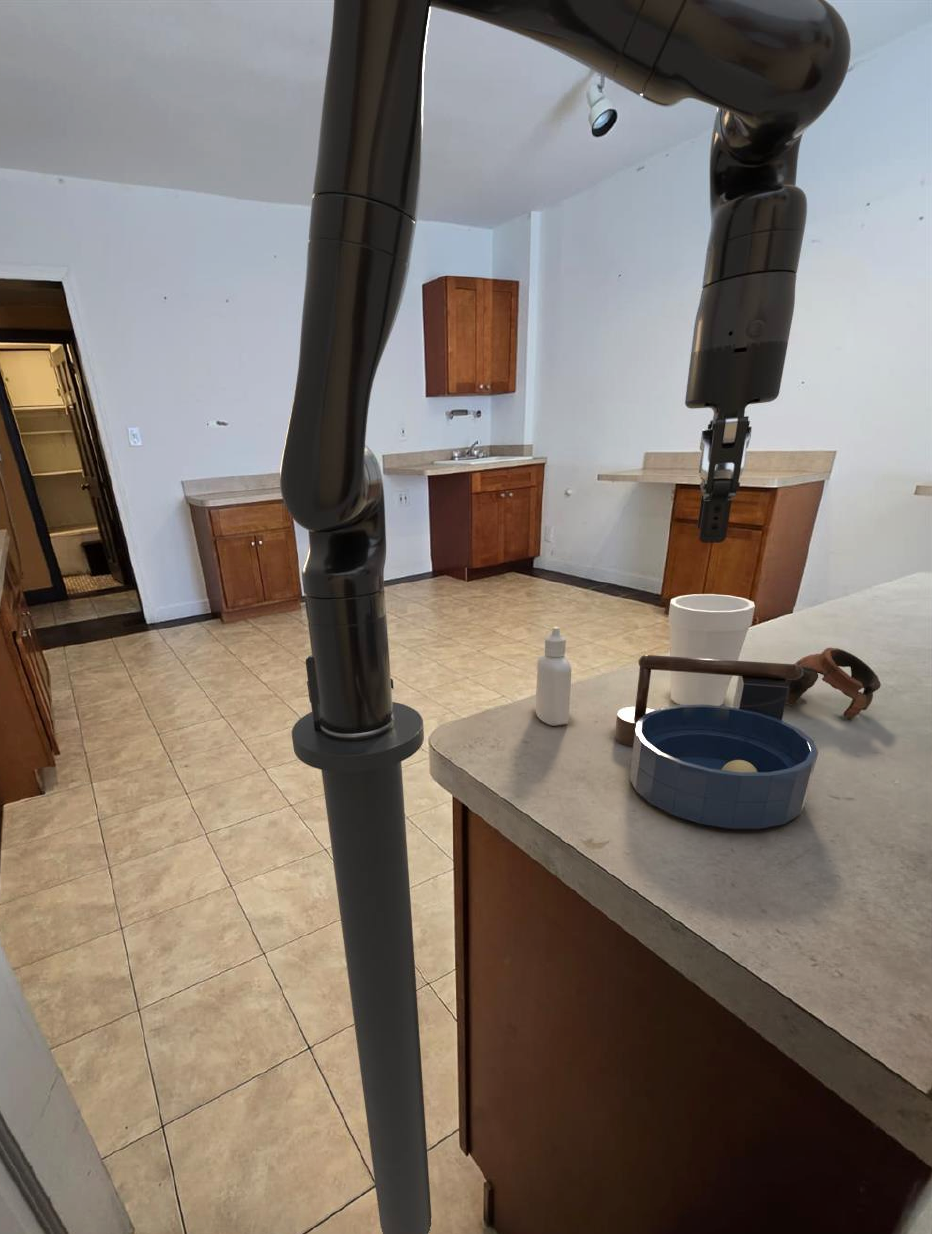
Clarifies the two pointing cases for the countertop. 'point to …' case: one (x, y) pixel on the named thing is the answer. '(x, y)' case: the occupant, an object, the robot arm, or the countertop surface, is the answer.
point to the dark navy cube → (762, 695)
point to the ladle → (693, 665)
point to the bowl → (722, 765)
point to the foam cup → (706, 642)
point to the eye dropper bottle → (553, 681)
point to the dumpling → (739, 766)
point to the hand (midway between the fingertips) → (710, 535)
